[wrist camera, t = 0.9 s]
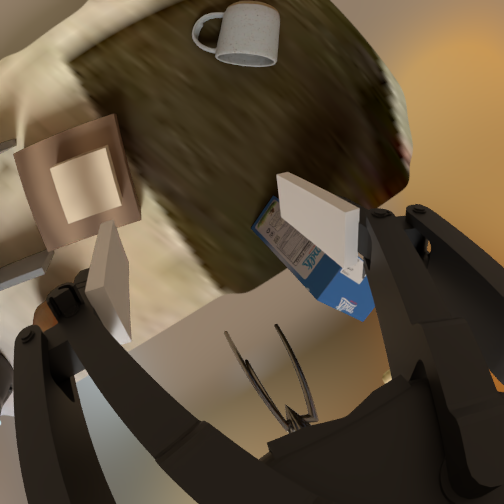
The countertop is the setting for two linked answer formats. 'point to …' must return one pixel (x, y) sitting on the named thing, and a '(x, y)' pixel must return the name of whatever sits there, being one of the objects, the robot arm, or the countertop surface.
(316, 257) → the milk carton
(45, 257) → the box
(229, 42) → the ceramic mug
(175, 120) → the countertop surface
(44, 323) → the onion
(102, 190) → the birch tile
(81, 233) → the walnut platform
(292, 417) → the grey forked piece
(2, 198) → the countertop surface
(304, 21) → the countertop surface
